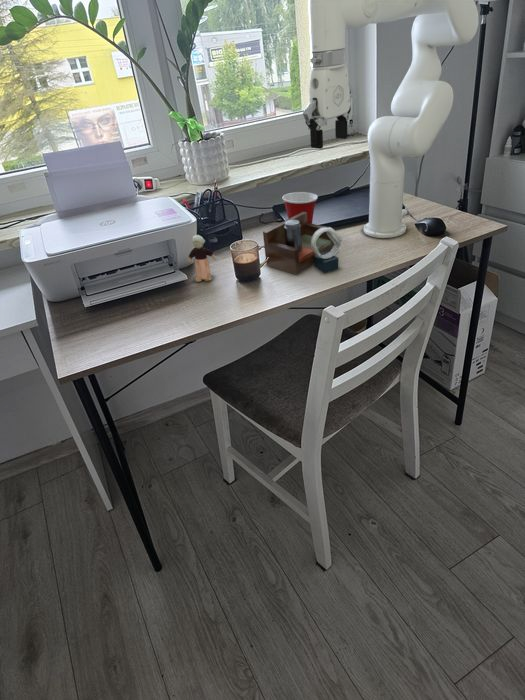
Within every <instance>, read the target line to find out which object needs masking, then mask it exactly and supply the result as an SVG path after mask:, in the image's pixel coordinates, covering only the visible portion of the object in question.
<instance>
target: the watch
mask: <svg viewBox="0 0 525 700" xmlns="http://www.w3.org/2000/svg"><path fill="white" fill-rule="evenodd" d="M327 227H329V228H327ZM332 228H333V227H330V226H325V227H323V228H320V229H318V230H317V231H316V232H315V233H314V234H313V237H312V239H311V248H312V250H313V251H314V253H315V254H316V255H314V265H313V266H314V267H315V268H316V269H318V270H319V271H320V272H322V273H323V274H327V273H331V272H334V271H337V270H339V257H337V256H335V255H336V254H337V253H338V252H339V250H340V247H341V245H342V243H341V242H342V241H343V240H342V238H341V236H340V235H339V234H338V232H337V231H336V230H335V228H334V229H332ZM324 232H326V234H327V235H328V237H329V238H330V239H331V240H332V241H333V243H334V246H333V248H332V249H331V251H330V252H328V251H327V252H324V253H320V252H319V251H318V248H317V247H316V243H315V242H316V240H317V238H318V237H319V236H320V235H321V234H322V233H324Z"/></svg>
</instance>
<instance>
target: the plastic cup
mask: <svg viewBox="0 0 525 700" xmlns="http://www.w3.org/2000/svg"><path fill="white" fill-rule="evenodd" d="M318 198H319V196H318V195H317V194H316V193H313V192H307V191H295V192H289V193H286V194H284V195H282V201H283V204H284V207H285V211H286V215H287V219H289V218H291V217H293V216H295V215H297V214H299V213H301V212H307V222H308V223H312V224H313V220H314V212H315V206H316V202H317V200H318Z"/></svg>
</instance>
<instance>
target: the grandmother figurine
mask: <svg viewBox="0 0 525 700" xmlns="http://www.w3.org/2000/svg"><path fill="white" fill-rule="evenodd" d="M191 243H192V245H193V248H192V249H191V251H190V252H189V253H188V259H187V262H188V263H189V264H190V263H192V260H193V258H194V267H195V274H196V277H195V283H199V282H202V281H203V280H204V281H205V282H209V281H212V276H211V275H212V274H211V267H210V262H209V258H208V257H211V258H212V259H211V260H213V261H215V260H217V257H216V256H215V253H214V251H213V250H211V249H209V248H207V247H204V244H205V243H206V240H205V239H204V238H203V236H201V235H199V234H195V235H193V236H192V238H191Z"/></svg>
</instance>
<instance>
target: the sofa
mask: <svg viewBox="0 0 525 700" xmlns="http://www.w3.org/2000/svg"><path fill="white" fill-rule="evenodd" d="M288 220H298V221H299V222H300V225H301V235H302V251H301V252H300V253H299V252H298V248H294V247H290V246H286V241H285V228H284V226H285V222H286V221H288ZM323 227H327V228H329V227H330V226H325V225H320V224H315V223H313V222H312V223H308V222H307V212H301V213H299V214H297V215H295V216H293V217H291V218H289V219H288V218H287V219H285V220H283V221H281V222H279V223H277V224H276V225H273V226H272V227H269V228H267V229H266V230H263V231H262V235H263V246H264V254H265V260H266V259H267V257H269V259H268V261H267V262H266V261H265V265H266V266H267V267H270V268H273V269H276V270H280V271H282V272H285V273H288V274H291V275H295V276H297V275H299V274H301V273H302V272H304V271H306V270H308V269H309V268H310V267H312V266H314V255H316V254H315V253H314V251H313V250H312V248H311V239H312V237H313V234H314V233H315V232H316V231H317V230H318V229H320V228H323ZM331 228H332V229H334V230H335V228H334V227H331ZM315 243H316V247H317V248H318V251H319V252H320V253H324V252H327V251H328V252H330V251H331V249H332V248H333V246H334V243H333V241H332V240H331V239H330V238H329V237H328V235H327V234H326V232H324V233H322V234H321V235H320V236H319V237H318V238H317V240H316V242H315Z"/></svg>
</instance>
